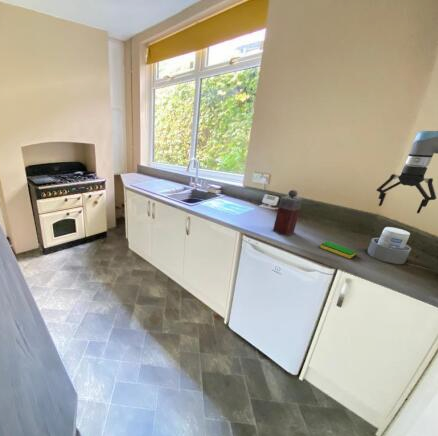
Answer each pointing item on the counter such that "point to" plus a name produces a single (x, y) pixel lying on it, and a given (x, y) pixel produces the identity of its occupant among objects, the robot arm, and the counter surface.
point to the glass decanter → (287, 213)
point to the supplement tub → (393, 238)
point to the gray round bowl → (388, 252)
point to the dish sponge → (338, 249)
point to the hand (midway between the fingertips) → (398, 209)
